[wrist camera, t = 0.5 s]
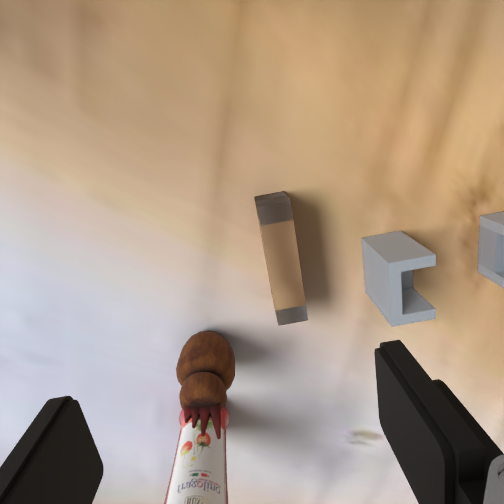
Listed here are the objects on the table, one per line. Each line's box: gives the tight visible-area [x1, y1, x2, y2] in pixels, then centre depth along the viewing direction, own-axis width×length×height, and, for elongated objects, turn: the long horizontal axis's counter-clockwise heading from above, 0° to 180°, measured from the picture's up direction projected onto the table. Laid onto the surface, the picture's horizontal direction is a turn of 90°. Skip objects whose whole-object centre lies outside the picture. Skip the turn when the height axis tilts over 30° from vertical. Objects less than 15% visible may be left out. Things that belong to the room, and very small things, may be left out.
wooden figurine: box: [176, 331, 235, 439], centre depth 40 cm, size 7×6×15 cm
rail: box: [255, 191, 308, 326], centre depth 41 cm, size 3×14×5 cm, turn 10°
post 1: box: [361, 231, 436, 327], centre depth 41 cm, size 7×5×8 cm, turn 10°
